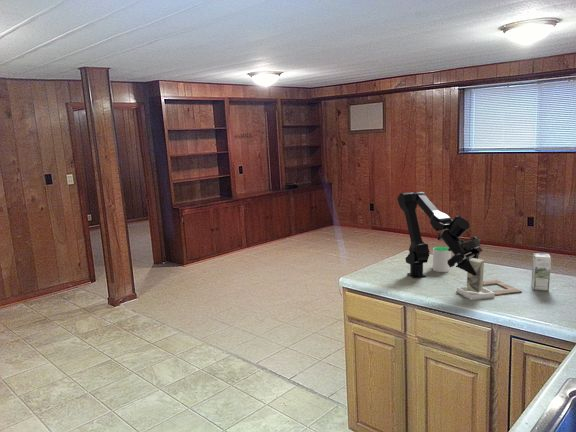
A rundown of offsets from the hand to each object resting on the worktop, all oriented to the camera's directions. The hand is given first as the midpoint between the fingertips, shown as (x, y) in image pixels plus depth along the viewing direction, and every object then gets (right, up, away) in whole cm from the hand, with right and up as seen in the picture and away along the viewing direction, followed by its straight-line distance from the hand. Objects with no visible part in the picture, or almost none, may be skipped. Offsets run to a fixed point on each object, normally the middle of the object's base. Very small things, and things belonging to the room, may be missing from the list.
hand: (478, 273), depth 184 cm
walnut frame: (+10, -7, +9) cm, 16 cm away
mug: (-2, -3, +40) cm, 40 cm away
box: (0, -7, +2) cm, 8 cm away
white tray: (0, -9, +2) cm, 9 cm away
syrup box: (+28, -7, +7) cm, 30 cm away
